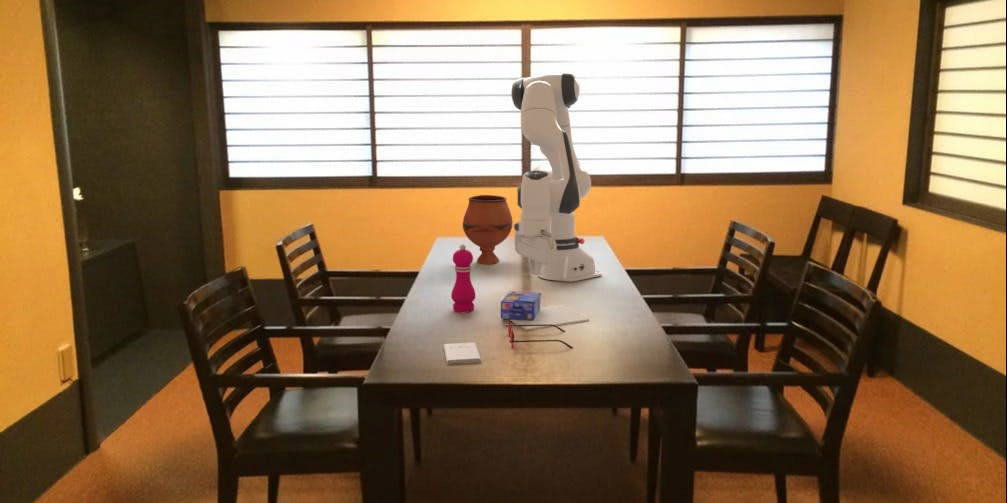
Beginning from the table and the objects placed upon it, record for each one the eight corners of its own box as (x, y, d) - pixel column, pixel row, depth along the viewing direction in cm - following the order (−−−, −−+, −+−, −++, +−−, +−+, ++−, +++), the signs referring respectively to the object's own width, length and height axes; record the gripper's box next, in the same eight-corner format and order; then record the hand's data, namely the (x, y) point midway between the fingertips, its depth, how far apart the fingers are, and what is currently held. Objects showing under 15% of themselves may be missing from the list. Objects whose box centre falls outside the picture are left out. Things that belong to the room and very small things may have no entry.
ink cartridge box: (541, 291, 224) (532, 305, 210) (541, 309, 225) (532, 324, 211) (508, 289, 226) (498, 304, 212) (508, 307, 227) (498, 322, 213)
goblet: (477, 269, 277) (476, 202, 272) (454, 259, 293) (453, 196, 288) (522, 263, 286) (522, 198, 281) (497, 254, 303) (497, 192, 297)
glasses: (504, 334, 205) (504, 316, 204) (565, 332, 206) (565, 315, 205) (509, 351, 191) (509, 332, 190) (573, 350, 192) (573, 331, 191)
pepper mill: (479, 307, 229) (478, 242, 224) (470, 314, 222) (469, 247, 218) (457, 305, 231) (456, 241, 227) (447, 311, 224) (446, 246, 220)
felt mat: (561, 306, 229) (561, 305, 229) (589, 320, 215) (589, 319, 215) (501, 314, 221) (501, 313, 221) (526, 330, 207) (526, 328, 207)
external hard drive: (447, 366, 182) (443, 349, 194) (481, 364, 183) (475, 347, 195) (446, 360, 181) (443, 343, 193) (480, 358, 182) (475, 341, 194)
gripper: (563, 232, 210) (562, 280, 213) (529, 221, 228) (529, 266, 231) (543, 234, 207) (542, 283, 210) (510, 223, 226) (510, 268, 228)
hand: (535, 274), depth 221 cm, fingers closed
